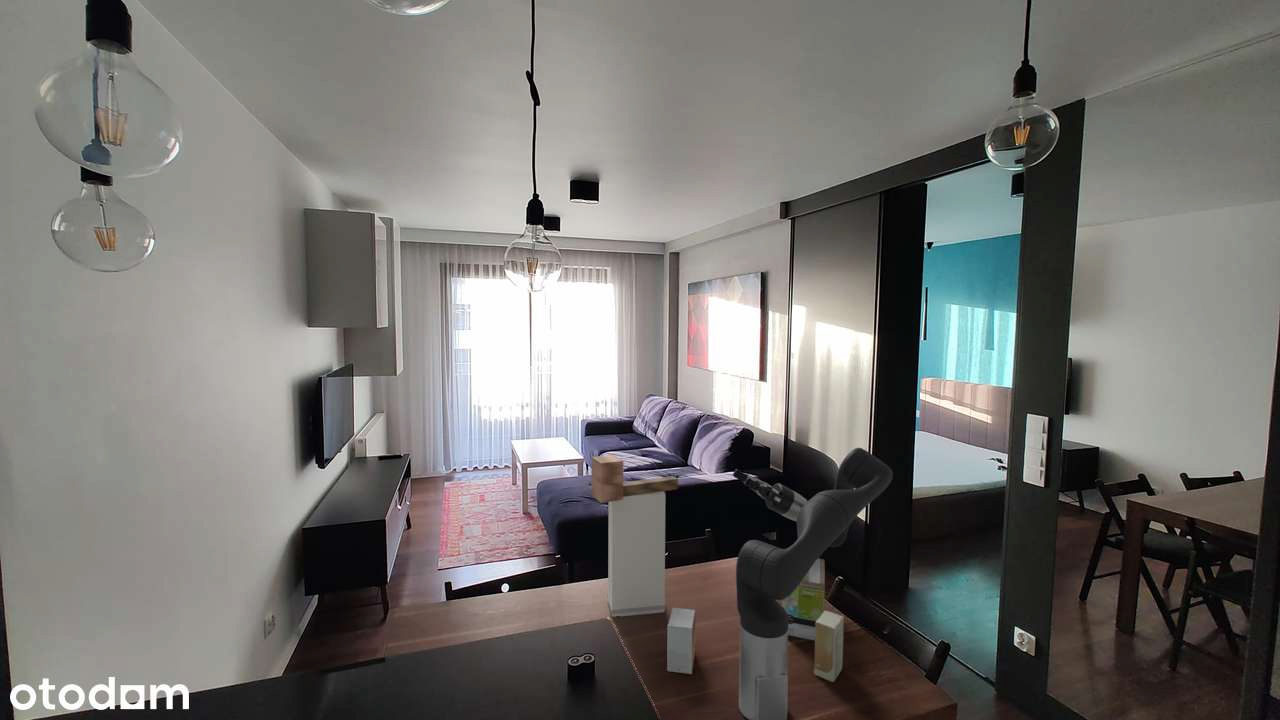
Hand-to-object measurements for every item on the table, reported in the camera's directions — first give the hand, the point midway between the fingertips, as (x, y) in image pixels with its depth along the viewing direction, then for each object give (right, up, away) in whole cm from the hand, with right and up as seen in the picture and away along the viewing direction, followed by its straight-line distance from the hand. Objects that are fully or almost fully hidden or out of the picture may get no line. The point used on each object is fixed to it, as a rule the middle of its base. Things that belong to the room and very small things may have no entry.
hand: (740, 476), depth 146 cm
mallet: (-29, -3, -7) cm, 29 cm away
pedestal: (-29, -35, -3) cm, 45 cm away
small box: (-18, -36, -27) cm, 49 cm away
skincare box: (+14, -37, -30) cm, 49 cm away
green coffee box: (+14, -36, -10) cm, 40 cm away
